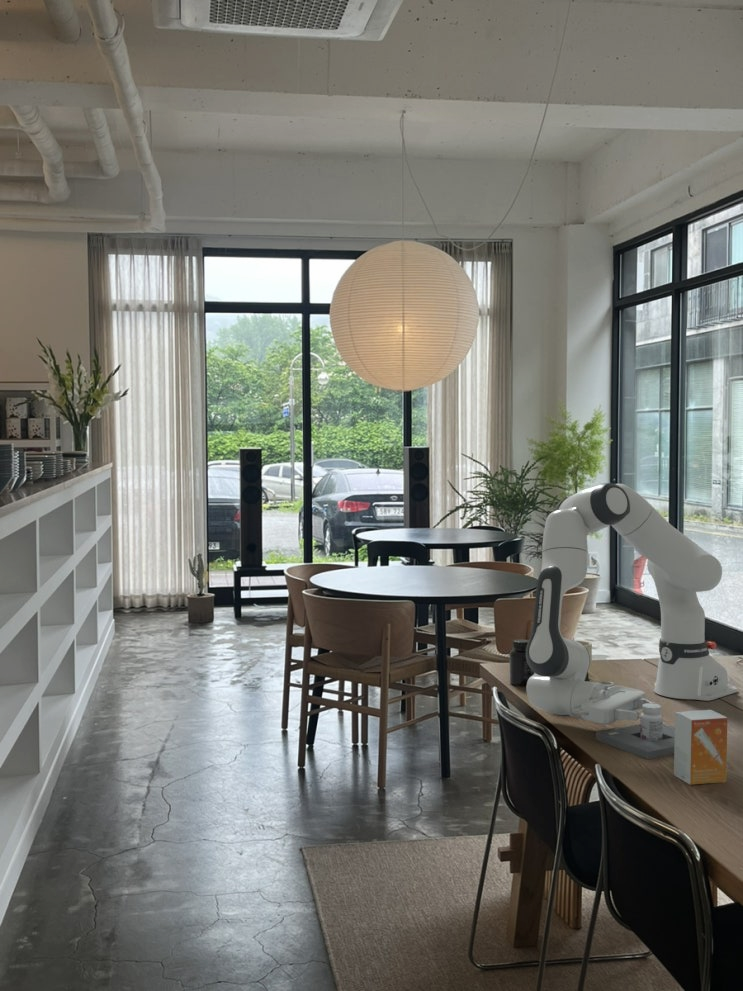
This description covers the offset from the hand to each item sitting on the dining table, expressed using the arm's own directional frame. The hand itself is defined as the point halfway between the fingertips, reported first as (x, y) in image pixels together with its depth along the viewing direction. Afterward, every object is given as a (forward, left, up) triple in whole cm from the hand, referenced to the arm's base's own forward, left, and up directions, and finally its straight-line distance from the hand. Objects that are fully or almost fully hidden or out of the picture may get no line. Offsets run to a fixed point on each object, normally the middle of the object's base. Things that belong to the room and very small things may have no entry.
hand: (647, 711), depth 220 cm
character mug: (-17, -43, -7) cm, 47 cm away
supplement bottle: (-9, -57, -7) cm, 58 cm away
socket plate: (0, +1, -7) cm, 7 cm away
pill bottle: (0, +1, -7) cm, 7 cm away
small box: (+9, +23, -7) cm, 26 cm away
